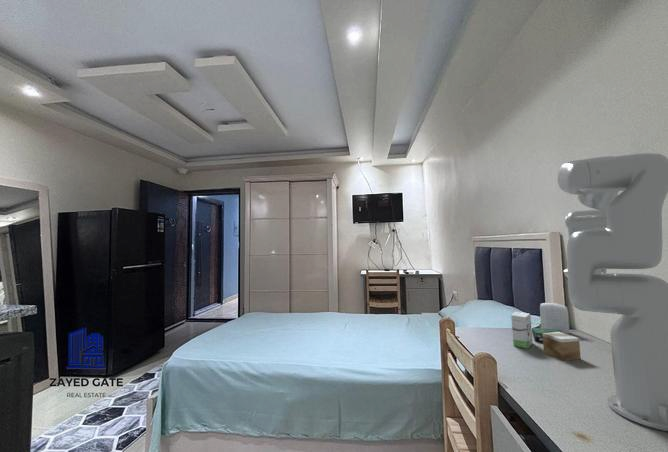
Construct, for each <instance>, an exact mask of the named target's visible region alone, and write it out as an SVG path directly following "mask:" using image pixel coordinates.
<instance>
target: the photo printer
mask: <svg viewBox="0 0 668 452" xmlns="http://www.w3.org/2000/svg"><path fill="white" fill-rule="evenodd" d="M539 314H540V315H539V318H540V329H552V330H560V331H561V332H562V333H564V334H568V335H570V319H569V310H568V306H565V305H563V304H560V303H555V302H542V303H540V305H539Z"/></svg>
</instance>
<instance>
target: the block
mask: <svg viewBox="0 0 668 452" xmlns="http://www.w3.org/2000/svg"><path fill="white" fill-rule="evenodd" d="M542 344H543V354H546V355H548V356H550V357H554V358H556V359H558V360H560V361H573V360H581V348H580V338H579V337H577V336H574V335H570V334H565V333H561V332H550V333H543V343H542Z"/></svg>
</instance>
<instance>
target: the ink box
mask: <svg viewBox="0 0 668 452" xmlns="http://www.w3.org/2000/svg"><path fill="white" fill-rule="evenodd" d="M510 317H511V318H510V319H511V331H512V343H513V346H514V347H518V348H522V349H523V348H524V349H529V348H530V347H531V345H532V344H533V334H532V320H531V319H532V318H531V313H527V312H524V311H523V312H522V311H515V312H513V313H512V314H511V316H510Z"/></svg>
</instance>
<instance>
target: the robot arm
mask: <svg viewBox="0 0 668 452" xmlns="http://www.w3.org/2000/svg"><path fill="white" fill-rule="evenodd" d="M557 184H558V186H559V189H561V190H562V191H563V192H565V193H568V194H570V195H577V198H578V199H577V200H578V201H579V202H580V203H581V204H582V205H583V206H585V207H588V208H590V209H586V210H576V211H571V212H569V213H568V214H567V215H566V216H565V219H564V223H565V227H566V228H567V231H568V240H567V244H566V269H564V270H563V275H564V276H565V279H566V280H567V288H568V290H567V291H568V297H569V301H570V303H571V305H572V306H573V307H574V308H576V309H577V310H579V311H580V310H581V311H583V312H584V311H585V312H591V313H592V312H593V313H601V314H602V313H604V314H613V315H614V314H616V315H620V317H619V318H618V319H617V320H616V321H615V322H614V323H613V324H612V326H611V328H610V343H611V346H610V347H611V352H612V353H611V355H612V364H613V372H614V373H613V376H614V386H615V394H614V395H610V396H609V397H608V398H607V404H608V406H609V408H611V410H613V411H614V412H615V413H617V414H618V415H620V416H622V417H624V418H625V419H628V420H630V421H632V422H635V423H636V424H640V425H643V426H645V427H649V428H652V429H656V430H658V431H659V430H660V431H664V432H668V282H667V281H666V280H664V279H662V278H661V277H657V276H654V275H650V274H643V273H620V272H619V273H618V272H616V273H614V272H613V273H612V272H611V273H610V272H609V273H607V270H647V269H652V268H656V267H657V266H658V265H659V264H660V263H661V261H662V257H663V256H662V255H663V206H664V202H665V200H666V198H667V195H668V157H667V156H665V155H663V154H661V153H660V154H659V153H651V152H649V153H646V152H644V153H643V152H642V153H633V154H624V155H617V156H612V155H611V156H607V155H606V156H599V157H591V158H585V159H577V160H570V161H566V162H564V163H563V164H562V165H561V166H560V168H559V169H558V173H557ZM620 191H621V192H620ZM619 192H620V193H619Z"/></svg>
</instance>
